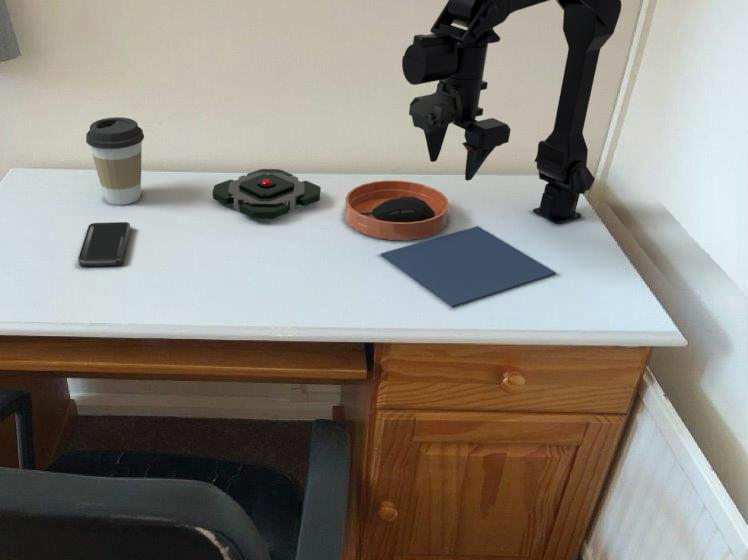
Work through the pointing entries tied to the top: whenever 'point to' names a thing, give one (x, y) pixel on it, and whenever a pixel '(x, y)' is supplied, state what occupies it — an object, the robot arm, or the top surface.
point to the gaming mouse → (402, 210)
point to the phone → (105, 244)
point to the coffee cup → (117, 158)
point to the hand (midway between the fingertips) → (450, 170)
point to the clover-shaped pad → (266, 193)
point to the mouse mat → (466, 265)
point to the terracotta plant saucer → (379, 191)
